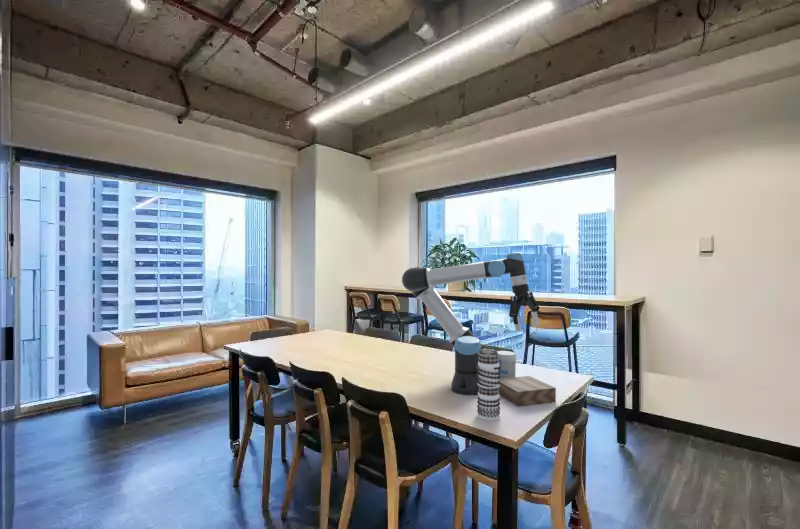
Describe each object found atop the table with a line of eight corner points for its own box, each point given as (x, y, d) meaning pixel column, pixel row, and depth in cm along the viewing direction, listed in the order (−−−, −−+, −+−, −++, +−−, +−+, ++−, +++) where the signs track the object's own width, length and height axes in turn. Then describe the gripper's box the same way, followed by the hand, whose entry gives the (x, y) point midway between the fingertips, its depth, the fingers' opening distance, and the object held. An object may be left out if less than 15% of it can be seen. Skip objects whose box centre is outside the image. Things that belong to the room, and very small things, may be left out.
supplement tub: (492, 384, 184) (492, 353, 184) (497, 379, 192) (497, 349, 192) (513, 387, 179) (513, 355, 179) (517, 381, 188) (517, 351, 188)
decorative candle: (495, 410, 151) (495, 346, 151) (505, 419, 141) (505, 352, 141) (472, 411, 149) (472, 347, 149) (481, 421, 140) (481, 353, 140)
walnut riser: (517, 406, 155) (517, 391, 155) (494, 392, 172) (494, 379, 172) (555, 402, 159) (555, 387, 160) (529, 388, 177) (529, 375, 177)
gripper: (508, 287, 174) (517, 333, 173) (541, 279, 188) (549, 322, 188) (496, 288, 180) (504, 333, 179) (529, 281, 194) (536, 322, 194)
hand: (527, 328), depth 184 cm, fingers open, 13 cm apart
